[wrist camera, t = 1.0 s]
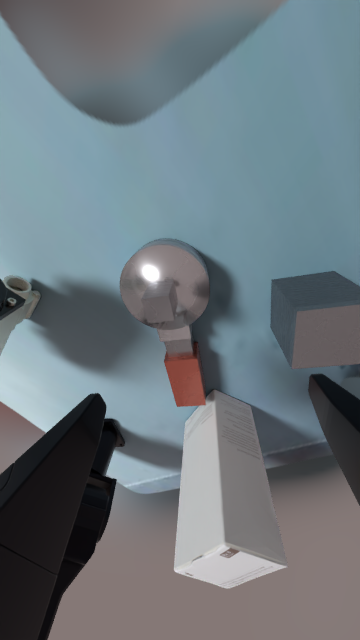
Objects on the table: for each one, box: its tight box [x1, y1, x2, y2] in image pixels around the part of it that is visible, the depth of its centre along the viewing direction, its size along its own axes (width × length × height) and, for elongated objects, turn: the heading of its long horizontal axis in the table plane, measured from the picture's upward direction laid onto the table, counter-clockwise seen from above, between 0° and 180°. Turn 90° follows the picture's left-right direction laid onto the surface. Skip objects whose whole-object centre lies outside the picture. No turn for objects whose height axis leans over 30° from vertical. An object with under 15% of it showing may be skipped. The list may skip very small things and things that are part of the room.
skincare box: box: [174, 389, 288, 589], centre depth 24 cm, size 8×6×15 cm
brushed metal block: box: [271, 271, 360, 369], centre depth 18 cm, size 5×5×6 cm
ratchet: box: [120, 238, 210, 407], centre depth 21 cm, size 19×8×6 cm, turn 10°
